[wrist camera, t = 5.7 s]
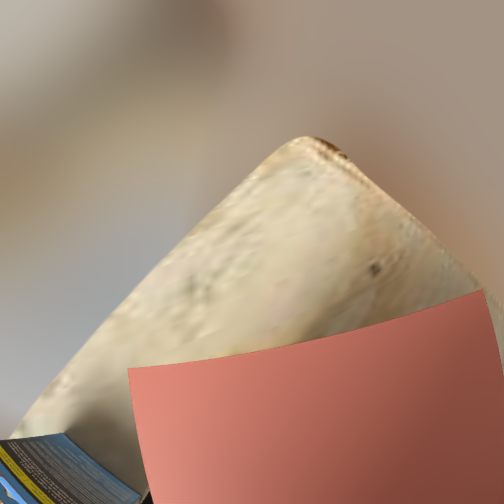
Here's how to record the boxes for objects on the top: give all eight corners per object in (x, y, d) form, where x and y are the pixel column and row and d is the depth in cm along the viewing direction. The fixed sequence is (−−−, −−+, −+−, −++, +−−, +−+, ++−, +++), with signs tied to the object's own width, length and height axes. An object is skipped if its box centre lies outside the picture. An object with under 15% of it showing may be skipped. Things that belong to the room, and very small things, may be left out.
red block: (347, 446, 13) (502, 548, 2) (252, 467, 13) (208, 636, 1) (330, 358, 15) (482, 288, 4) (234, 378, 15) (127, 368, 3)
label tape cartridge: (50, 459, 18) (-51, 473, 7) (63, 430, 19) (-45, 436, 8) (127, 522, 16) (45, 582, 5) (145, 495, 17) (58, 556, 6)
